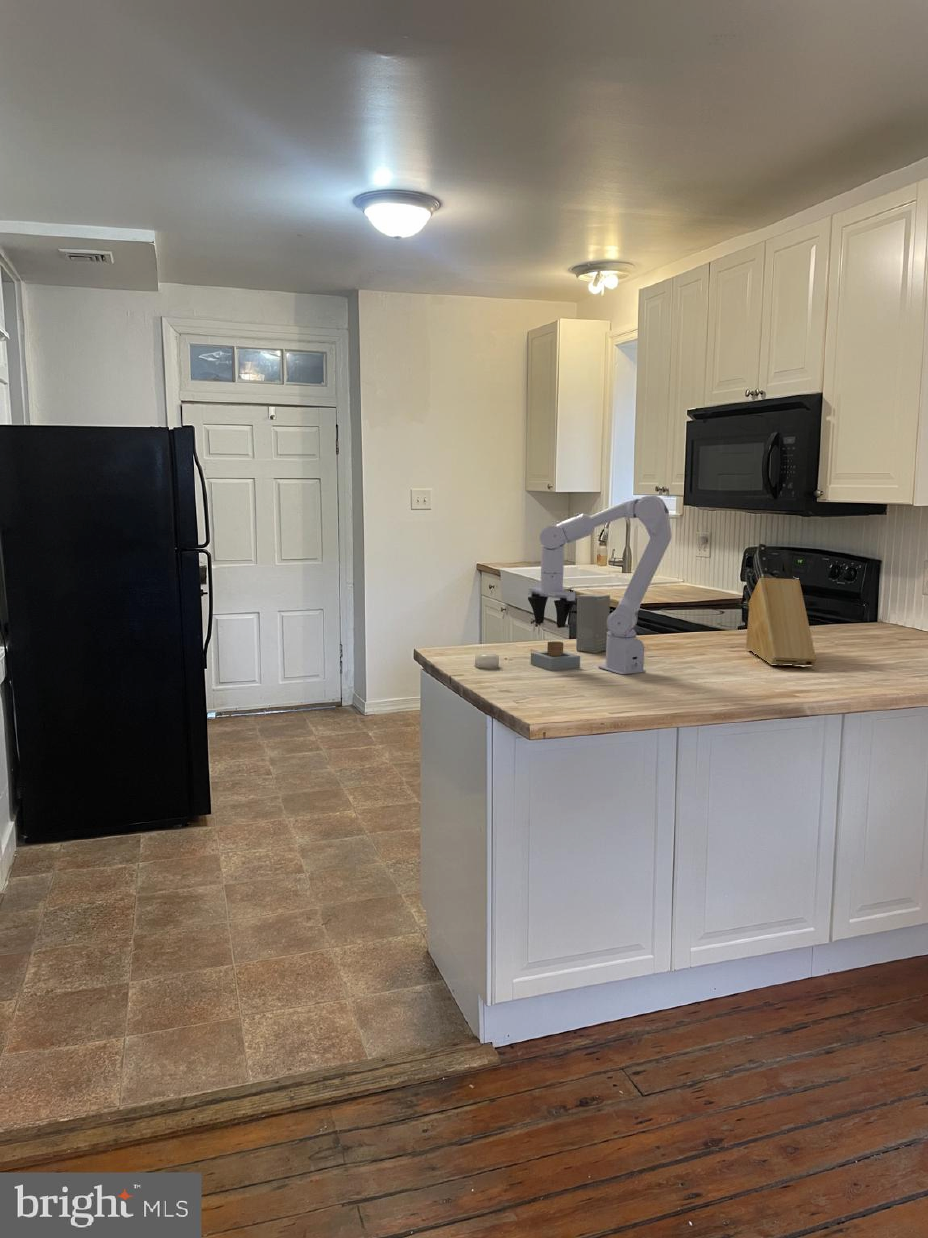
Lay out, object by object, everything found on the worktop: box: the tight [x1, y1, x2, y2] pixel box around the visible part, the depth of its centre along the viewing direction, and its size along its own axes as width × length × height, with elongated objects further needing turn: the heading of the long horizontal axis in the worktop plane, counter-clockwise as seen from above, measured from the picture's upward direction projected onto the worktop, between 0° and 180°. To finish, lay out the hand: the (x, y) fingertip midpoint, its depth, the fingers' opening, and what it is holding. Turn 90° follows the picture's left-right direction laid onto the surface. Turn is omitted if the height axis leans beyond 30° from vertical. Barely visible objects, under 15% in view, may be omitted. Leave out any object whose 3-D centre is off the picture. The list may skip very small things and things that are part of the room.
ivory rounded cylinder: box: [474, 652, 500, 670], centre depth 226 cm, size 6×6×3 cm
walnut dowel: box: [546, 641, 564, 657], centre depth 228 cm, size 4×4×6 cm
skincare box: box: [575, 593, 611, 654], centre depth 250 cm, size 8×7×16 cm
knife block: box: [743, 542, 817, 665], centre depth 246 cm, size 11×35×31 cm, turn 178°
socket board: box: [529, 650, 581, 671], centre depth 228 cm, size 9×9×3 cm
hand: (550, 625), depth 230 cm, fingers open, 7 cm apart
